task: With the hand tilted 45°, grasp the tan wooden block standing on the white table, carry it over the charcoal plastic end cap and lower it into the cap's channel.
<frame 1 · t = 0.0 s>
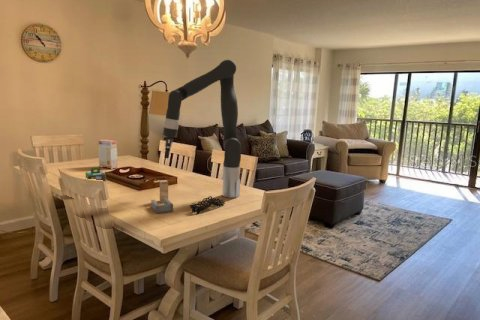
hand: (166, 156, 192), 22 cm above the table, tool pointing down, fingers open, 8 cm apart
cracker box: (108, 168, 266), on the table
tan wooden block: (163, 201, 186), on the table
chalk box: (96, 193, 198), on the table
end cap: (161, 209, 173), on the table
decorative element: (207, 209, 177), on the table
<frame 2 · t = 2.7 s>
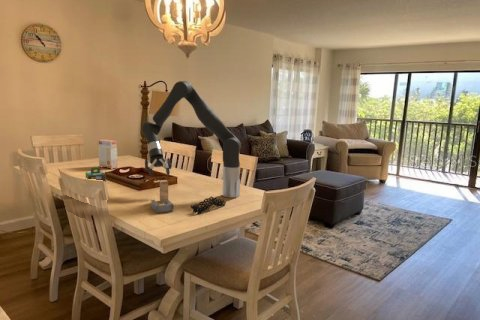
hand: (160, 175, 191), 12 cm above the table, tool tilted 45°, fingers open, 8 cm apart
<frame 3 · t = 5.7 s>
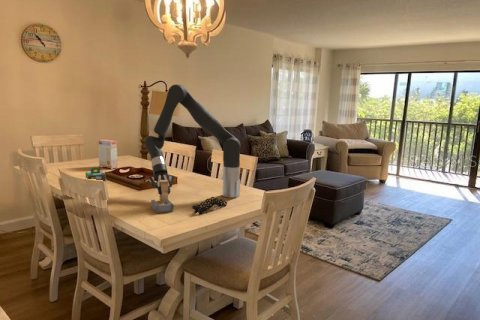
hand: (164, 193, 184), 5 cm above the table, tool tilted 45°, fingers closed on tan wooden block, 3 cm apart
tan wooden block: (163, 201, 186), on the table, touching gripper
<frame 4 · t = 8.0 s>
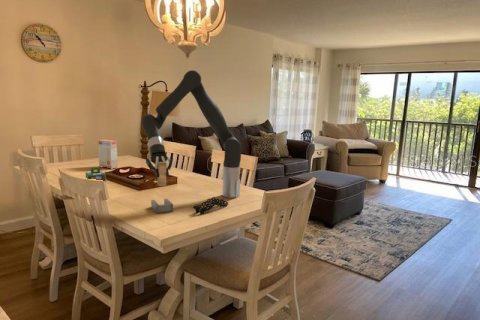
hand: (162, 176, 169), 17 cm above the table, tool tilted 45°, fingers closed on tan wooden block, 3 cm apart
tan wooden block: (161, 184, 172), point 12 cm above the table, touching gripper
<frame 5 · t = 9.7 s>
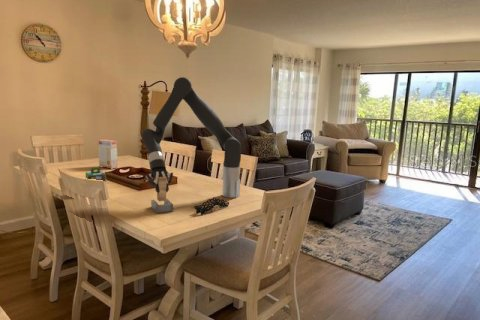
hand: (162, 191, 170), 9 cm above the table, tool tilted 45°, fingers closed on tan wooden block, 3 cm apart
tan wooden block: (161, 199, 173), point 5 cm above the table, touching gripper
when the fingers open (7 cm above the table, at t = 10.8 s): tan wooden block drops 1 cm, resting on end cap.
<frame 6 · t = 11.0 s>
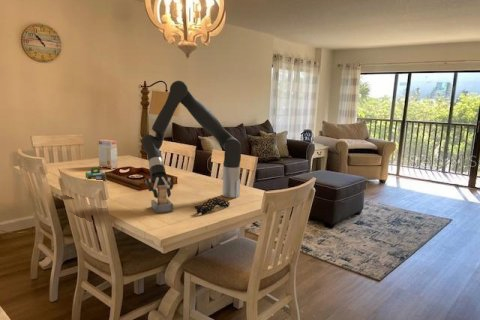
hand: (162, 196, 171), 7 cm above the table, tool tilted 45°, fingers open, 5 cm apart
tan wooden block: (162, 208, 173), point 1 cm above the table, touching end cap
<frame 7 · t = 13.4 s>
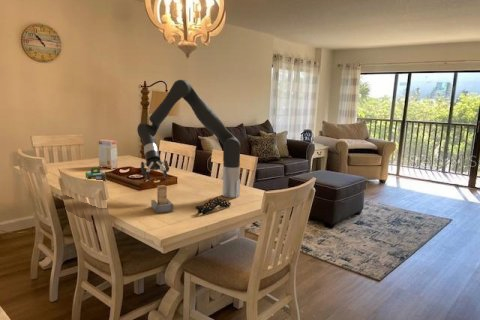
hand: (157, 178, 183), 12 cm above the table, tool tilted 45°, fingers open, 8 cm apart
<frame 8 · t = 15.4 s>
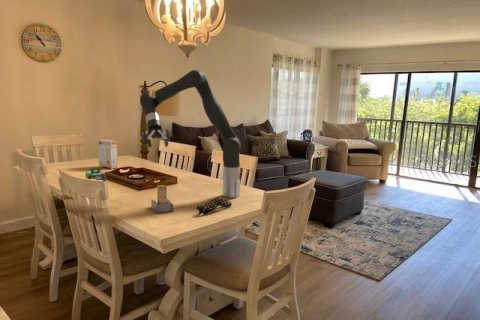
hand: (158, 146, 186), 29 cm above the table, tool tilted 45°, fingers open, 8 cm apart
at the end: tan wooden block inside the target area on the end cap (0.1 cm from its centre), point 0.6 cm above the end cap's base; tan wooden block tilted 0°; the gripper is holding nothing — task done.
